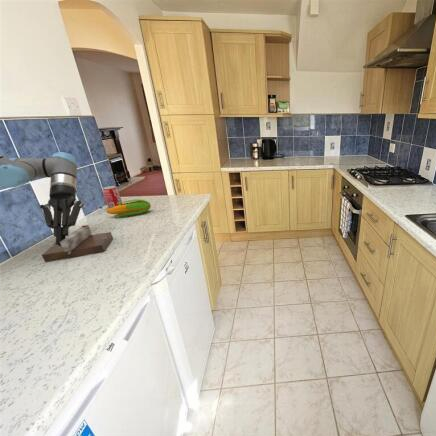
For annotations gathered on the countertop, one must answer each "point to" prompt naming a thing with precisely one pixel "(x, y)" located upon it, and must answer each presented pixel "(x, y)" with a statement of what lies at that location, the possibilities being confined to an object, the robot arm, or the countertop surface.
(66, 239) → the grey bar
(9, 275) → the countertop surface
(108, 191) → the soda can
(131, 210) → the corn
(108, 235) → the base
